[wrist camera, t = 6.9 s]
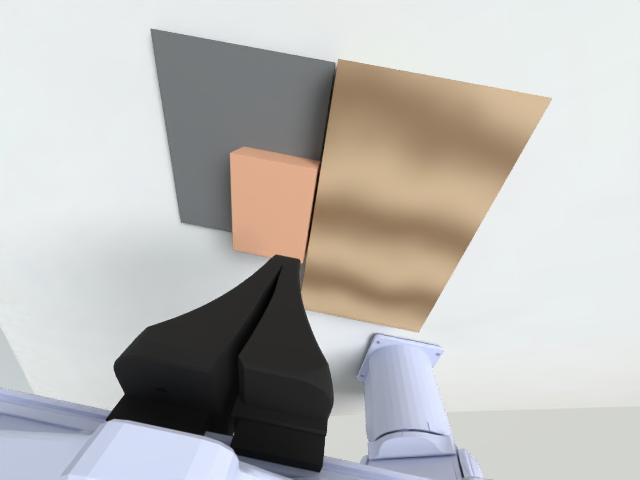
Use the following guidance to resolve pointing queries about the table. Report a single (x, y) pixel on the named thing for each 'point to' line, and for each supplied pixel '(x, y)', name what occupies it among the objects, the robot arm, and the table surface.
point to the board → (406, 188)
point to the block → (272, 202)
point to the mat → (234, 114)
